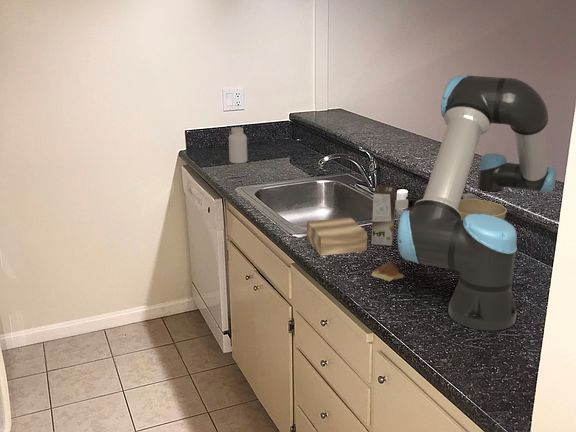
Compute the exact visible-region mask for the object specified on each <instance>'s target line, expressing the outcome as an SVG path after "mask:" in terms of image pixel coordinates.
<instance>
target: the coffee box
mask: <svg viewBox="0 0 576 432" xmlns="http://www.w3.org/2000/svg"><path fill="white" fill-rule="evenodd" d="M372 195H373V196H372V197H373V198H372V215H371V216H372V217H371V219H372V222H371V242H370V243H371V245H378V246H379V245H380V246H392V245H393V241H394V235H395V218H396V217H395V216H396V209H395V204H396V200H397V199H396V198H397V186H396V185H387V184H385V185H380V184H379V185H377V184H376V185H375V188H374V190H373V192H372Z"/></svg>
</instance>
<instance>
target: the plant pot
mask: <svg viewBox="0 0 576 432" xmlns="http://www.w3.org/2000/svg"><path fill="white" fill-rule="evenodd" d="M458 211H459V212H460V213H461V216H462V219H461V220H464V219H465V217H466V216H468V215H471V214H478V215H480V214H485V215H490V216H494V217H497V218H500V219H502V220H505V218H506V215H507V212H508V211H507V209H506V208H505V207H504V206H503V205H501V204H498V203H495V202H492V201H487V200H481V199H462V200H460V204H459V207H458Z"/></svg>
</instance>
